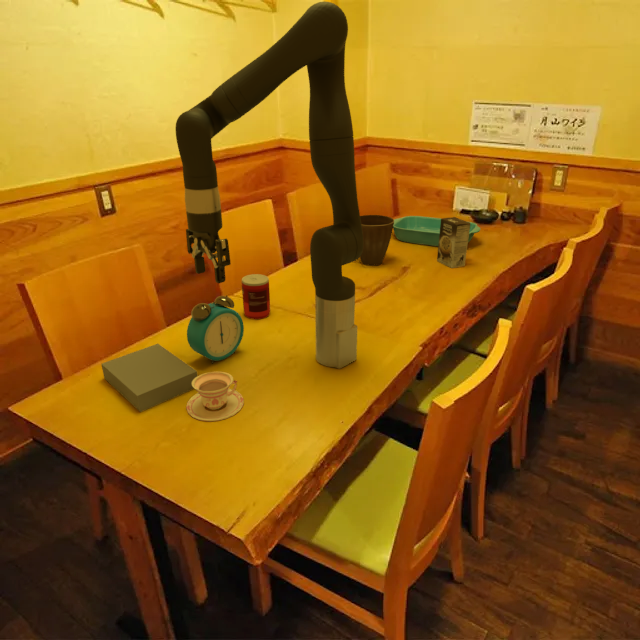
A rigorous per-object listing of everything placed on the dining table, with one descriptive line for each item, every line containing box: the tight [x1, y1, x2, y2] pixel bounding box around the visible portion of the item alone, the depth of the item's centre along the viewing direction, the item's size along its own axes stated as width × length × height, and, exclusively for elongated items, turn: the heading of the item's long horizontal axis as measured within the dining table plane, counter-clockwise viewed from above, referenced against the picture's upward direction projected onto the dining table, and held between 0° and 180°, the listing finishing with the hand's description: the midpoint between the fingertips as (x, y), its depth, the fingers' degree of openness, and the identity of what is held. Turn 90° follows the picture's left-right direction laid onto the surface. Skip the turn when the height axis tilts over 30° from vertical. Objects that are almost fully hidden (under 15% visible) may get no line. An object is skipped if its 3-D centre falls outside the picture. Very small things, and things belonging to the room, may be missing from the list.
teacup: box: [185, 371, 245, 422], centre depth 109 cm, size 12×12×6 cm
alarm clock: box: [186, 295, 245, 365], centre depth 126 cm, size 13×6×15 cm, turn 138°
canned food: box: [241, 273, 271, 320], centre depth 149 cm, size 8×8×11 cm
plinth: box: [100, 343, 199, 413], centre depth 117 cm, size 18×14×4 cm
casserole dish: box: [393, 215, 481, 248], centre depth 215 cm, size 37×22×7 cm, turn 62°
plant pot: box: [359, 214, 395, 267], centre depth 188 cm, size 15×15×16 cm
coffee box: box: [436, 216, 470, 269], centre depth 187 cm, size 9×6×16 cm
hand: (210, 277), depth 120 cm, fingers open, 8 cm apart
